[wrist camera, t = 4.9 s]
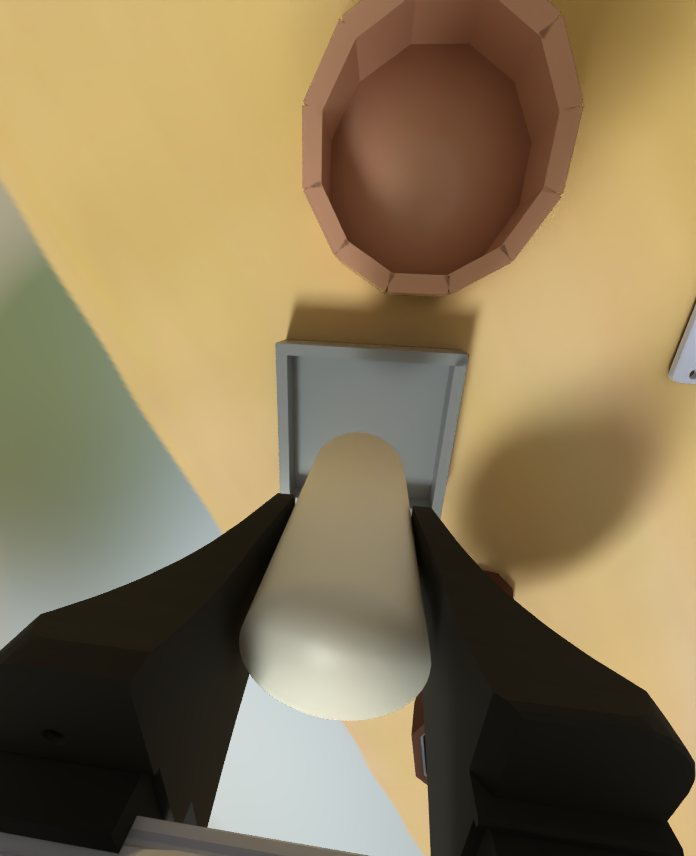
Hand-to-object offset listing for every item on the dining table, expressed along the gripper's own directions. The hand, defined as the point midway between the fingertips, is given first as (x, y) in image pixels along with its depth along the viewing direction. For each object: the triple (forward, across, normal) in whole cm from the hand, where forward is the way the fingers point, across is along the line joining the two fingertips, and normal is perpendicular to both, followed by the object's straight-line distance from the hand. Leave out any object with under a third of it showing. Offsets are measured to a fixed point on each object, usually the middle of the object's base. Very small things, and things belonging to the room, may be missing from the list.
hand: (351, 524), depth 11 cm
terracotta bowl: (+10, -2, -13) cm, 16 cm away
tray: (+10, 0, 0) cm, 10 cm away
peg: (+3, 0, 0) cm, 3 cm away
